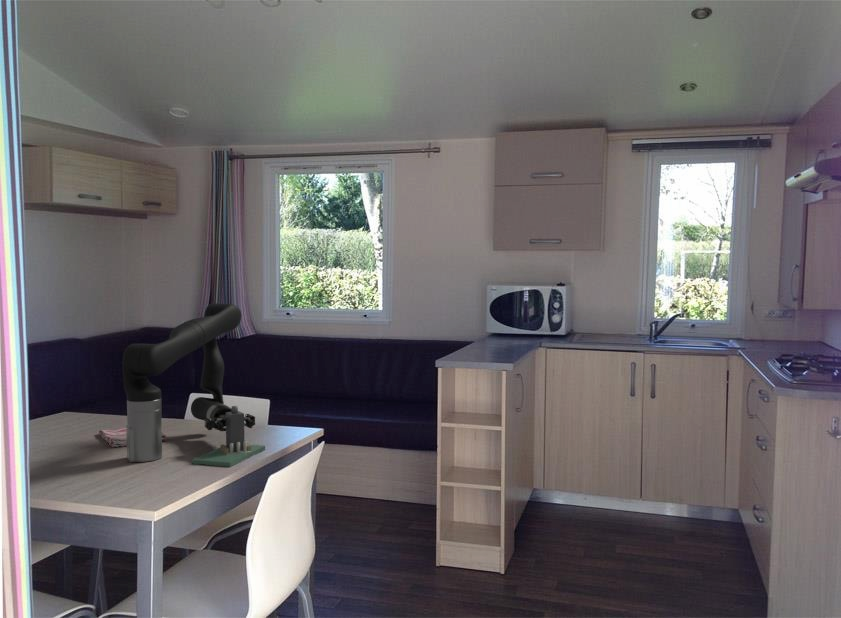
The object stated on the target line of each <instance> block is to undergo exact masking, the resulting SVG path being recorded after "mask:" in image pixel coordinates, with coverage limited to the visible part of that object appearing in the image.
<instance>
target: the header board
mask: <svg viewBox="0 0 841 618" xmlns="http://www.w3.org/2000/svg"><path fill="white" fill-rule="evenodd" d="M219 446H220V447H218V448H216V449H214V450H212V451H211V450H210V452H206V453H205V454H202V455H200V456H198V457H195V458H193V459H192V462H191V463H192V464H194V465H201V464H206V465H205V466H216V467H229V468H231V467H233V466H235V465H237V464H240V463H241V462H244V461H245V459H246V460H247V458H248V459H250V458H252V457H253V455H254V456H255V454H256V455H258V454H260V453H262V452H264V451H265V450H266V445H260V444H259V445H257V444H249V443H248V441H244V442H243V451H240V442H237V452H233V443H230V451H229V448H227V447H226V444H223V443H222V444H220V445H219ZM257 453H258V454H257ZM251 456H252V457H251ZM249 457H250V458H249Z"/></svg>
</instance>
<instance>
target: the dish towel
mask: <svg viewBox="0 0 841 618" xmlns="http://www.w3.org/2000/svg"><path fill="white" fill-rule="evenodd" d="M98 434H99V436H100V437H101V438H102V439H103V440H106V441H105V442H106V443H107V442H108V443H109V445H110V446H111V447H113V448H119V446H121V447H127V438H126V427H124V428H118V429H113V430H109V429H108V430H107V429H100V430H98ZM167 438H168V437H167V434H165V433H163V432H162V442H167ZM109 445H108V446H109ZM110 446H109V447H110ZM111 447H110V448H111Z"/></svg>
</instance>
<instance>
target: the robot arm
mask: <svg viewBox="0 0 841 618" xmlns="http://www.w3.org/2000/svg"><path fill="white" fill-rule="evenodd" d="M242 315H243V314H242V310H241V309H240V307H239V306H238V305H236V304H234V303H222V302H221V303H220V302H215V303H210V304H208V305H207V306H206V309H205V312H204V315H203V316H202V317H197V318H193V319H192V318H191V319H188V320H186V321H184V322H182V323H180V324H179V325H177V326H175V327H174V328H173V329H172V330H171V331H170V334H169V336H168V339H166V340H165V341H162V342H159V343H131V344H129V345H128V346H127V347H126V348H125V349H124V352H123V355H122V363H121V364H122V365H121V366H122V376H123V388H124V392H125V395H126V412H127V413H126V414H127V415H126V416H127V417H126V419H127V421H126V423H127V424H126V427H125V428H126V438H127V446H126V459H127V461H128V462H129V463H133V462H135V463H142V462H150V461H151V462H152V461H156V460H159V459H161V458H162V457H163V441H162V433H163V429H162V427H163V426H162V389H161V388H160V387H158V386H157V385H154V384H153V383H151V381H150V380H149V378H148V377H153V376H154V377H155V376H158V375H160V374H162V373H164V371H166V370H167V369H169V367H171V366H173V364H175V363H176V362H177V361H179V360H180V359H182V358H184V357H185V356H187V355H188V354H191V353H193V352H194V351H196V350H197V349H200V348H201V347H203V365H202V370H201V371H202V372H201V377H200V384H199V385H200V389H202V390H203V391H207V392H209V393H211V395H212V397H206V396H205V397H204V396H199V397H196V398H195V399H194V400H193V401H192V402H191V406H190V412H191V414H192V416H193V417H194V418H195V419H197V420H200V421H204V428H205V429H206V430H208V431H212V430H213V429H214V430H216V431H219V432H226V412H232V407H230V406H228V405H226V404H225V403H224V397H223V396H224V395H223V381H224V374H225V363H224V359H223V356H222V354H221V351H220V347H219V345H218V340H217V339H218V337H219V336H221V335H223V334H226V333H229V332H231V331H233V330H235V329H236V328H238V326H239V325H240V323H241V321H242ZM254 426H256V416H254V415H253V414H250V413H244V427H247V428H249V429H253V427H254Z"/></svg>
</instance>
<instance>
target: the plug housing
mask: <svg viewBox="0 0 841 618" xmlns="http://www.w3.org/2000/svg"><path fill="white" fill-rule="evenodd" d="M231 408H232V412H226V431H225V445H226V447H227V448H229V451H230V443H233V452H237V442H240V451H243V442H244V441H245V426H244V423H245V421H244V417H245V413H244V412H241V411H239V406H238V405H231Z"/></svg>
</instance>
